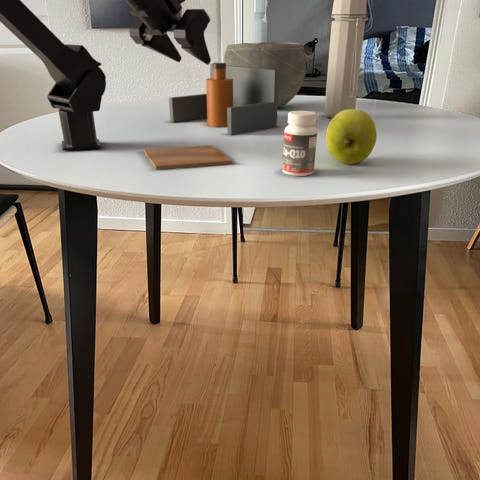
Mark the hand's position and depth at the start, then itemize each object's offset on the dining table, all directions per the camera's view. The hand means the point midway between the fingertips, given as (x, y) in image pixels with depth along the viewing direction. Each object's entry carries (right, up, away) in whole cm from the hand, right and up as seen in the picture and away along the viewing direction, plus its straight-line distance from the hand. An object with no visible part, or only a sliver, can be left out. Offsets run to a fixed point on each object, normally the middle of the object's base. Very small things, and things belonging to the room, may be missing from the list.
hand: (194, 61), depth 98 cm
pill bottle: (+18, -29, -24) cm, 42 cm away
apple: (+26, -26, -19) cm, 42 cm away
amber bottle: (+5, -8, +10) cm, 14 cm away
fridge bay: (+5, -8, +10) cm, 14 cm away
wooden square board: (0, -24, -16) cm, 29 cm away
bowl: (+15, +5, +32) cm, 36 cm away
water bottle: (+33, -3, +19) cm, 38 cm away
